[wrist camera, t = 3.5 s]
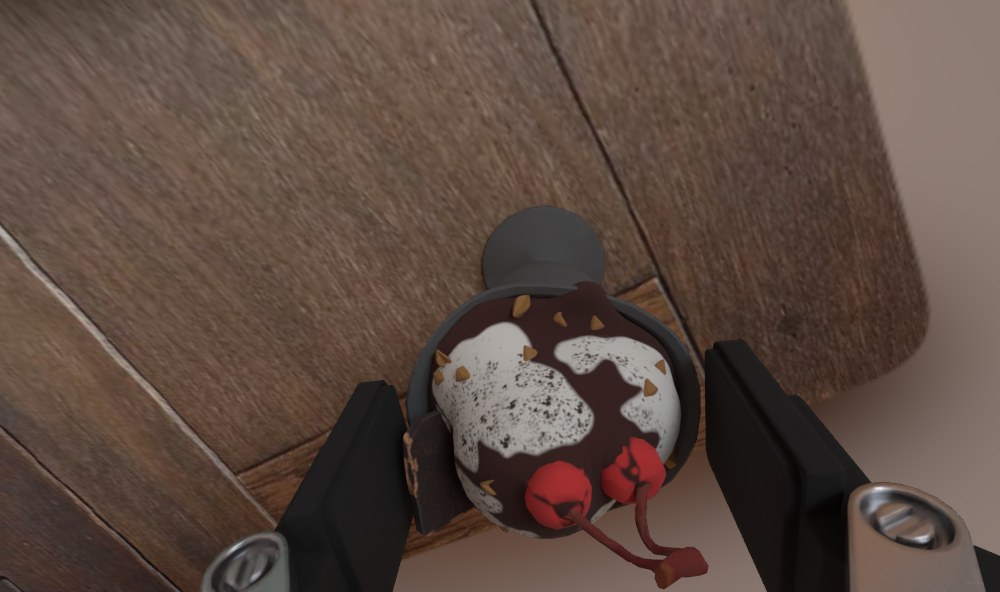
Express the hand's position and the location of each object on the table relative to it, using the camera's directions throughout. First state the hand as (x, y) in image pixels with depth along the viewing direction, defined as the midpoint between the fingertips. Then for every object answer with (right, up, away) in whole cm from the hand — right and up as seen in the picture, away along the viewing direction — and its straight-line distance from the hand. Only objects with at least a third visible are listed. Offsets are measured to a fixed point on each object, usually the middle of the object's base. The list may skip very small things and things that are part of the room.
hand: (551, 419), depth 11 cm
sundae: (+1, +4, +9) cm, 10 cm away
